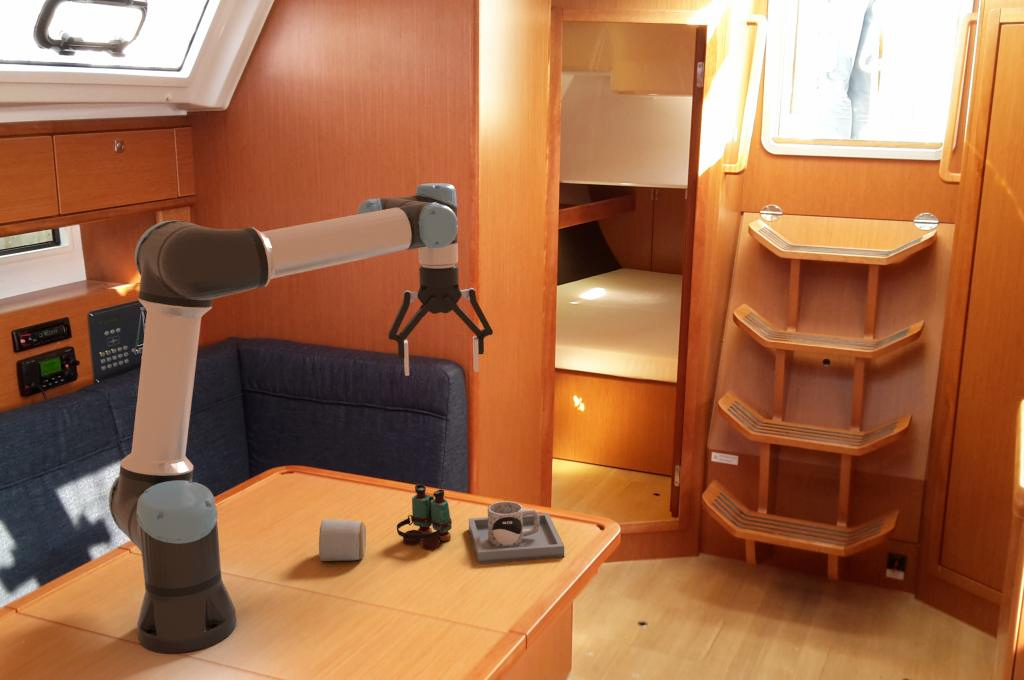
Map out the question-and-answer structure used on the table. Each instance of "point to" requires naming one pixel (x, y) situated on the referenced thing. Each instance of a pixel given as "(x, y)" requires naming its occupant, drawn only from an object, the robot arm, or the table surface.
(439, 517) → the binoculars
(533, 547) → the tray
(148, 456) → the robot arm
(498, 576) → the table surface
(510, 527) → the mug
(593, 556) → the table surface
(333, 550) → the ceramic mug
